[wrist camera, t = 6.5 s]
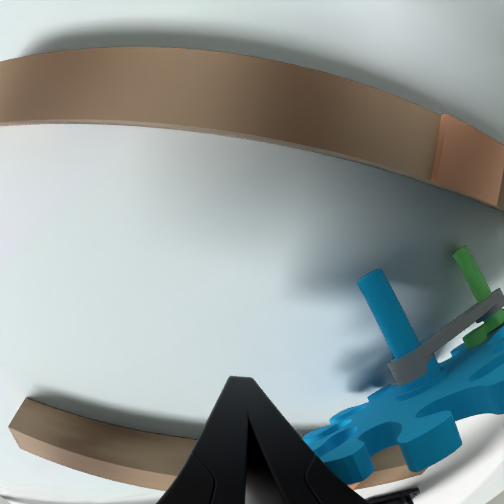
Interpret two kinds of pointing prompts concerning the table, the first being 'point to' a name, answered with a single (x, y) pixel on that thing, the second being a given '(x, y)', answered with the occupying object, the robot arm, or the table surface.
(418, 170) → the guide channel
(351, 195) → the table surface
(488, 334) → the gear
